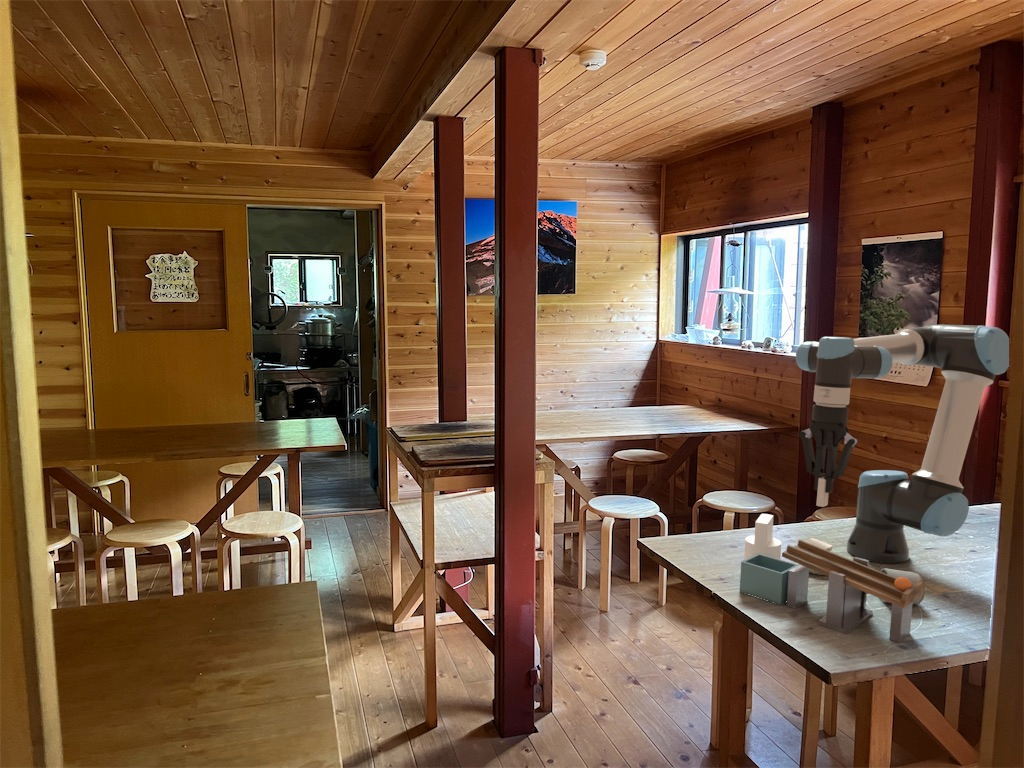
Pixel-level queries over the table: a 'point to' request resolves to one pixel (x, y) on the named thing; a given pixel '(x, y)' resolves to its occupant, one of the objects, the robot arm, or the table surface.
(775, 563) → the open box
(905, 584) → the ball
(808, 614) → the table surface
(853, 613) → the support blocks
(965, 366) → the robot arm
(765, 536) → the cylinder with rectangular tab
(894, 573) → the ceramic mug
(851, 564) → the wooden ramp track
